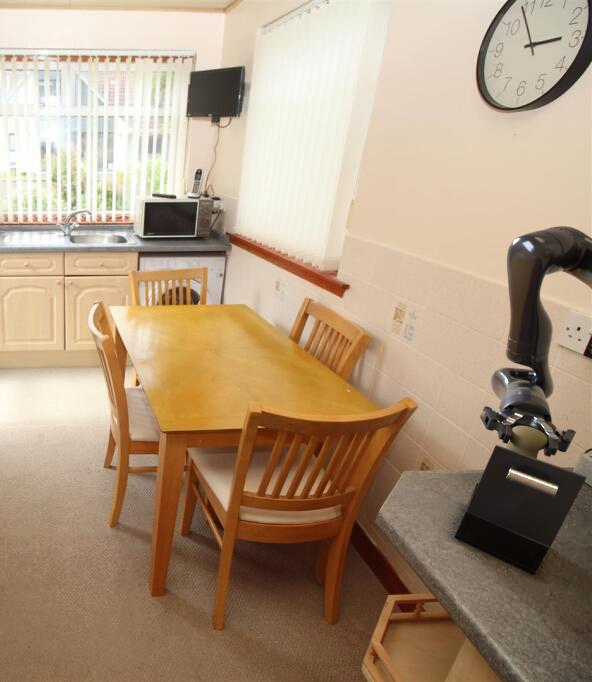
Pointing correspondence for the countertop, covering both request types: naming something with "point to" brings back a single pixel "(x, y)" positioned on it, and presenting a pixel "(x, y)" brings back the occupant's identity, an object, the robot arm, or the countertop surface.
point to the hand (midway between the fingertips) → (528, 445)
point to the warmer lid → (525, 494)
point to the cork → (527, 441)
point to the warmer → (500, 541)
